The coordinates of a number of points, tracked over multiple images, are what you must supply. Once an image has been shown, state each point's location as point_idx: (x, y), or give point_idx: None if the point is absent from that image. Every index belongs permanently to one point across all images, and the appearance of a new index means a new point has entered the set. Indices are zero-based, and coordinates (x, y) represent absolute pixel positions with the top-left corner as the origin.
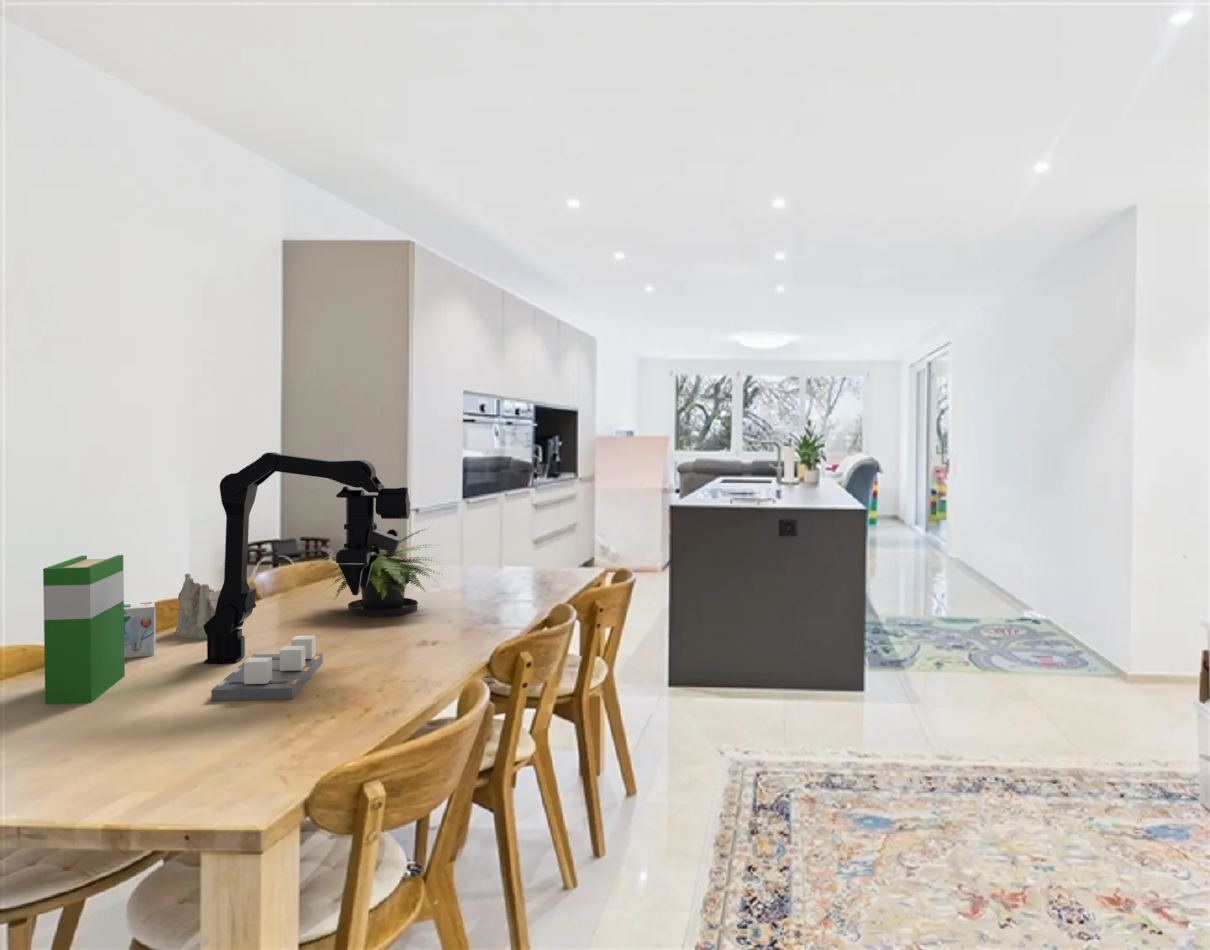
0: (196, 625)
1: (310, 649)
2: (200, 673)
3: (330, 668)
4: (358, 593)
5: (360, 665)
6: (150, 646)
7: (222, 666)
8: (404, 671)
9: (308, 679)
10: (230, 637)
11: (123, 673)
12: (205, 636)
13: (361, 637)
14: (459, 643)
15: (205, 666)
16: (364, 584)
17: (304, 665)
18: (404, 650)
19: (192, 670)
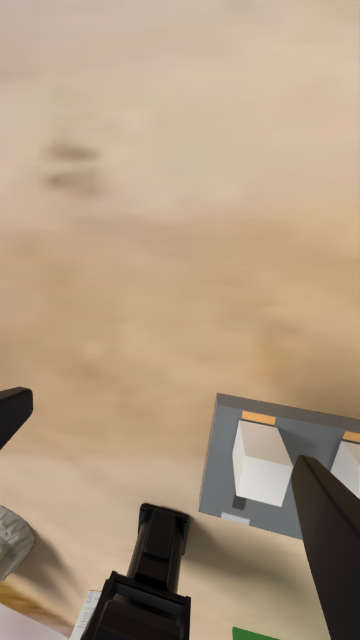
0: (9, 572)
1: (283, 446)
2: (243, 556)
3: (266, 379)
4: (309, 459)
5: (257, 322)
6: None
7: (205, 530)
8: (349, 218)
9: (351, 418)
10: (172, 577)
11: (238, 636)
12: (30, 544)
13: (21, 324)
14: (79, 76)
15: (200, 548)
16: (12, 409)
17: (353, 445)
18: (137, 228)
19: (221, 563)
